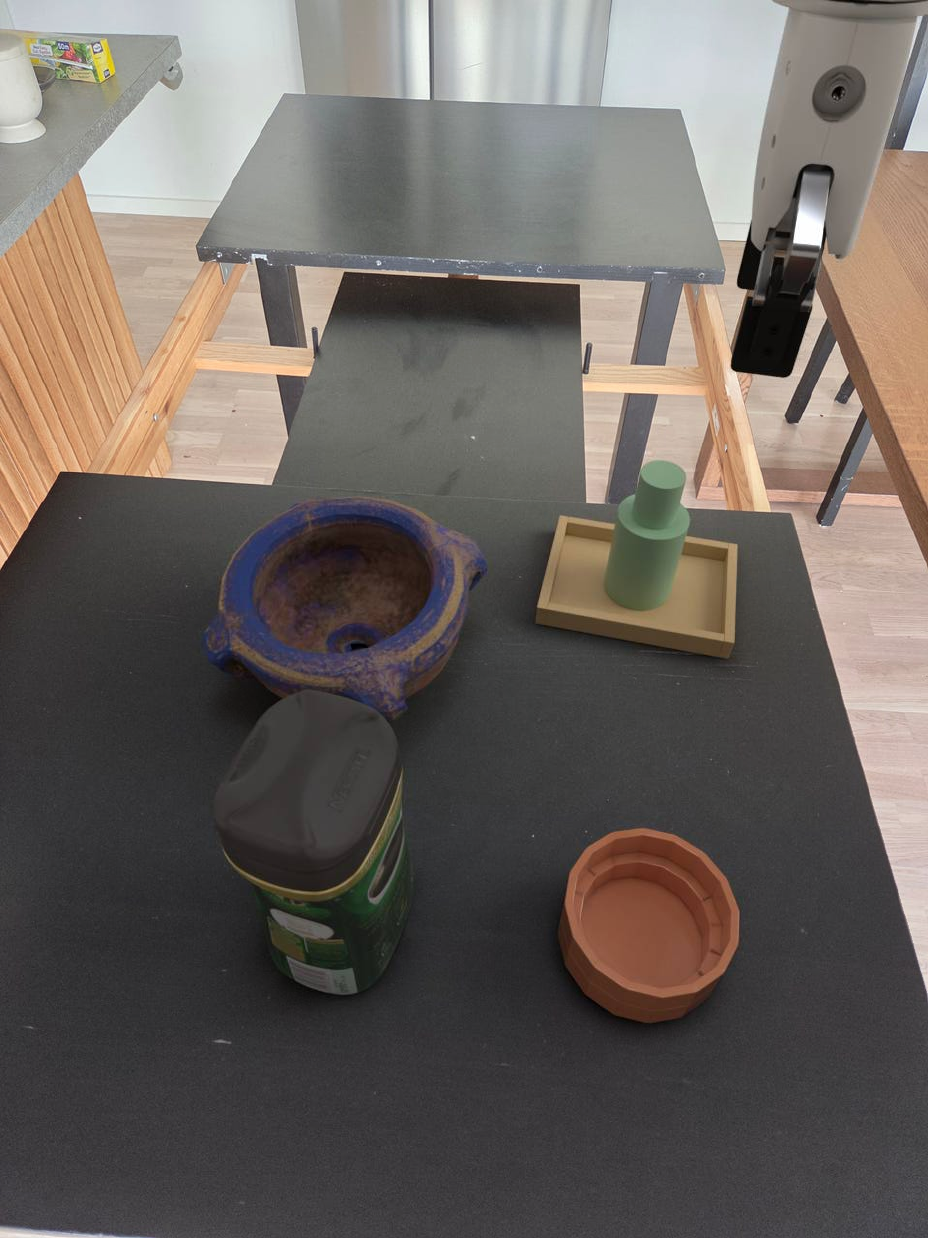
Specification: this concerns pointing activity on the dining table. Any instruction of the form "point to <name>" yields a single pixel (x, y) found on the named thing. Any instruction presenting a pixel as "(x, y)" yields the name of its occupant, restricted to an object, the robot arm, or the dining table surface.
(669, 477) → the bottle
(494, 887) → the dining table surface
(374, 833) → the coffee jar
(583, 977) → the clay bowl
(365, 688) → the bowl
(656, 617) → the tray
